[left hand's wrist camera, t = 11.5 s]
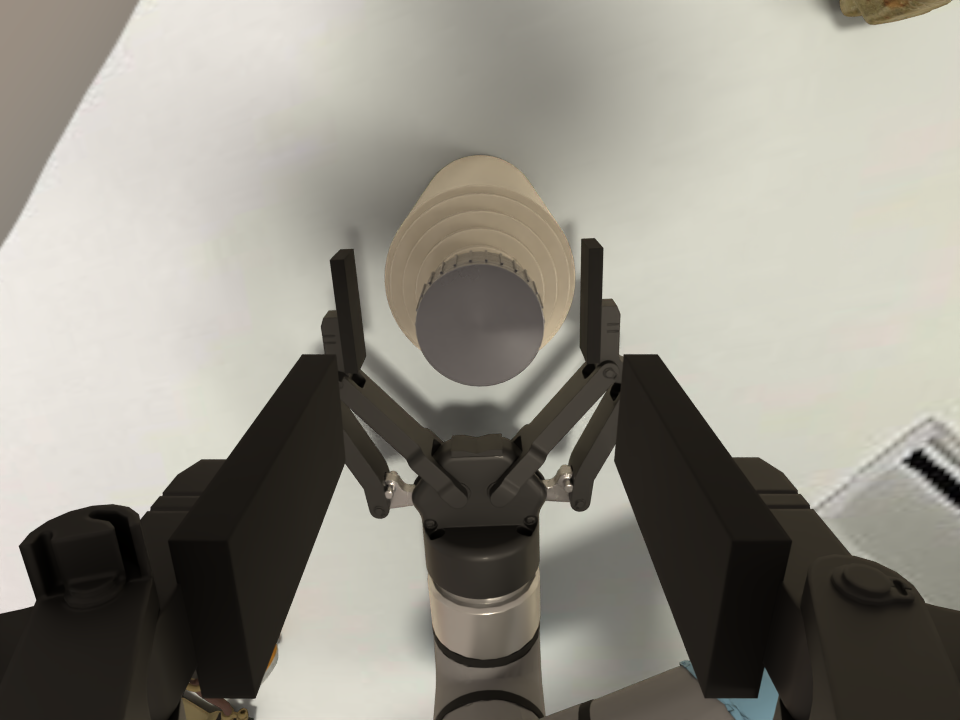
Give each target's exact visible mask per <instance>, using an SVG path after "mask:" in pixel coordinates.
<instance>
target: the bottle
mask: <svg viewBox="0 0 960 720" xmlns="http://www.w3.org/2000/svg"><path fill="white" fill-rule="evenodd" d="M471 250H472V252H479V251H482V252H485V250H487V252H491V253H496V254H500V253H501V254H502V256H505V257H507V258H508V259H510V260H512V261H513V260H515V261H516V263H517V264H518V265H519V266H520V267H521V268H522V269H523V270H525V269H526V270H527V273H528V275H529V277H530V278H531V280H532V281H534V282H535V284H536V287H537V290H538V294H540V297H541V300H542V304H543V307H544V308H543V309H542V310H543V315H544V319H545V323H544V336H543V340H542V344H541V346H540V349H541V348H543V347H544V346H545V345H546V344H547V343H548V342H549V341H550V340H551V339H552V338H553V337H554V335H555V334H556V333H557V331H558V330H559V329H560V327H561V325H562V324H563V322H564V320H565V319H566V316H567V314H568V312H569V309H570V306H571V303H572V299H573V295H574V288H575V267H574V260H573V256H572V252H571V248H570V246H569V244H568V241H567V239H566V236H565V235H564V233H563V231H562V230H561V228H560V226H559V225H558V223H557V222H556V220H555V219H554V217H553V216H552V214H551V213H550V211H549V210H548V208H547V207H546V205H545V204H544V203H543V201H542V200H541V198H540V197H539V195H538V194H537V192H536V191H535V189H534V188H533V186H532V185H531V183H530V182H529V180H528V179H527V178H526V177H525V175H524V174H523V173H522V172H521V171H520V170H519V169H517V168H516V167H515V166H513V165H512V164H510V163H508V162H507V161H505V160H502V159H500V158H497V157H492V156H486V155H473V156H468V157H463V158H461V159H458V160H455V161H453V162H451V163H450V164H448V165H447V166H445V167H444V168H443V169H441V170H440V171H439V172H438V173H437V174H436V175H435V177H434V178H433V179H432V180H431V182H430V183H429V185H428V186H427V188H426V189H425V191H424V192H423V194H422V195H421V197H420V198H419V200H418V201H417V203H416V204H415V206H414V207H413V209H412V210H411V212H410V213H409V214H408V216H407V217H406V219H405V220H404V222H403V223H402V225H401V227H400V228H399V230H398V231H397V233H396V235H395V237H394V239H393V241H392V243H391V246H390V249H389V252H388V255H387V260H386V266H385V288H386V295H387V299H388V303H389V306H390V309H391V312H392V314H393V317H394V318H395V320H396V322H397V324H398V326H399V327H400V329H401V330H402V331H403V333H404V334H405V335H406V337H407V338H408V339H409V340H410V341H411V342H412V343H413V344H414V345H415V346H416V347H417V348H419V349H420V346H419V344H418V340H417V336H416V327H415V322H416V315H417V311H416V307H417V304H418V301H419V298H420V295H421V292H422V289H423V286H424V284H427V282H428V280H429V278H430V276H431V273H432V271H433V272H435V271H436V270H437V268H439V267H440V266H441V264H442V262H443V261H444V262H446V261H448V260H449V259H451V258H453V257H455V255H456V254H457V255H461V254H464V253H469V252H470V251H471ZM540 349H539V350H540ZM420 350H421V349H420Z"/></svg>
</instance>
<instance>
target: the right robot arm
mask: <svg viewBox="0 0 960 720" xmlns="http://www.w3.org/2000/svg"><path fill="white" fill-rule="evenodd" d="M330 265H331V273H332V280H333V288H334V295H335V303H336V310H332V311H328V312H327V314H326V315H325V316H324V318H323V321H322V325H321V331H322V336H323V337H322V338H323V343H324V344H323V345H324V352H325V354H336V357H337V368H338V379H339V391H340V402H341V413H342V424H343V435H344V447H345V458H346V462H345V464H346V465H347V467H348V468H349V469H350V471H351V472H352V474H353V475H354V476H355V478H356V479H357V480H358V482H359V483H360V485H361V486H362V487H363V489H364V491H365V495H366V499H367V503H368V507H369V510H370V513H371V515H372V516H373V517H375V518H378V519H382V518H385V517H386V516H387V515H388V513H389V510H390V508H398V507H405V506H413V505H414V506H415V508H416V509H417V510H418V512H419V513H420V515H421V518H422V524H423V534H424V545H425V556H426V566H427V570H428V589H429V598H430V607H431V616H432V627H433V634H434V645H435V662H436V693H435V706H434V719H433V720H773V717H774V713H775V708H776V704H777V700H778V696H779V694H778V692H777V690H776V688H775V686H774V684H773V682H772V681H771V679H770V677H769V675H768V673H767V671H766V669H765V668H764V672H763V677H762V681H761V686H760V690H759V695H758V698H704V696H703V693H702V690H701V688H700V685H699V682H698V680H697V677H696V675H695V672H694V669H693V667H692V664H691V661H686V660H685V661H682V662H680V666H678V667H676V668H673V669H671V670H668V671H666V672H663V673H661V674H658V675H656V676H653V677H651V678H648V679H646V680H643V681H641V682H638V683H636V684H633V685H631V686H628V687H626V688H623V689H621V690H618V691H616V692H613V693H610V694H608V695H605V696H603V697H600V698H598V699H595V700H590V701H587V702H585V703H581V704H578V705H576V706H573V707H570V708H568V709H565V710H562V711H559V712H557V713H554V714H551V715H549V716H546V715H545V706H544V697H543V688H542V676H541V654H540V633H539V629H540V617H541V613H540V570H539V567H538V566H539V561H540V554H539V512H540V509H541V507H542V505H543V504H544V502H545V501H559V502H570V504H571V507H572V509H574V510H575V511H578V512H581V511H585V510H586V509H587V508H588V507H589V505H590V501H591V495H592V488H593V482H594V479H595V478H596V476H597V474H598V473H599V471H600V469H601V468H602V466H603V464H604V463H605V461H606V459H607V458H608V456H609V454H610V453H611V451H612V449H613V447H614V446H615V444H616V435H617V424H618V413H619V402H620V391H621V379H622V368H623V356H620V355H619V337H620V312H619V310H618V307H617V305H616V304H615V302H614V301H613V299H602V280H603V247H602V246H601V245H600V244H599V243H598V241H597V240H596V239H595V238H588V239H581V296H580V349H581V351H582V354H583V356H584V358H585V361H586V362H585V363H584V364H583V365H582V366H581V367H580V368H579V369H578V371H577V372H576V373H575V374H574V375H573V376H572V377H571V378H570V379H569V381H568V382H567V383H566V384H565V385H564V386H563V387H562V388H561V389H560V391H559V392H558V393H557V394H556V395H555V396H554V397H553V398H552V399H551V401H550V402H549V403H548V404H547V405H546V406H545V407H544V408H543V410H542V411H541V412H540V413H539V414H538V415H537V416H536V417H535V418H534V420H533V421H532V422H531V423H530V424H526V425H525V426H524V427H523V428H522V429H521V430H520V431H519V432H518V433H517V434H516V435H515V436H514V438H513V439H512V440H509V439H507V438H504V437H502V434H488V435H484V436H481V437H472V436H467V435H453V436H452V439H450V440H448V441H446V442H443V441H442V440H440V439H439V438H438V437H437V436H436V435H435V434H434V433H433V432H432V431H431V430H429V429H428V428H423V427H422V426H421V425H420V424H419V423H418V422H417V421H415V420H414V419H413V418H412V417H411V416H410V415H409V414H408V413H407V412H406V411H405V410H404V409H403V408H401V407H400V406H399V405H398V404H397V403H396V402H395V401H394V400H393V399H392V398H391V397H390V396H389V395H387V394H386V393H385V392H384V391H383V390H382V389H381V388H380V387H379V386H378V385H377V384H376V383H375V382H373V381H372V380H371V379H370V378H369V377H368V376H367V375H366V374H365V373H364V372H363V371H362V370H361V369H360V368H361V366H362V364H363V362H364V360H365V357H366V350H365V342H364V333H363V325H362V316H361V308H360V299H359V291H358V283H357V274H356V266H355V257H354V249H340V250H339V251H338V252H337V253H336V254H335V255H334V256H333V257H332V258H331V259H330ZM605 392H606V393H605ZM604 393H605V394H604ZM603 394H604V396H603V398H602V400H601V401H600V403H599V405H598V407H597V409H596V410H595V412H594V414H593V416H592V417H591V419H590V421H589V423H588V424H587V426H586V428H585V430H584V431H583V433H582V435H581V437H580V438H579V440H578V442H577V444H576V445H575V447H574V449H573V451H572V453H571V456H570V459H569V463H568V465H562V466H561V467H560V469H559V470H558V471H557V473H556V475H555V476H554V477H553V478H552V479H548V480H545V479H544V477H543V475H542V474H541V473H540V471H539V470H538V469H539V468H540V467H541V466H542V465H543V463H544V462H545V460H546V457H547V455H548V453H549V452H550V451H551V450H552V449H553V448H554V447H555V445H556V444H557V443H558V442H559V441H560V440H561V439H562V438H563V437H564V436H565V435H566V434H567V433H568V432H569V430H570V429H571V428H572V427H573V426H574V425H575V424H576V423H577V422H578V421H579V420H580V419H581V418H582V416H583V415H584V414H585V413H586V412H587V411H588V410H589V409H590V408H591V407H592V406H593V405H594V404H595V402H596V401H597V400H598V399H599V398H600V397H601V396H602V395H603ZM349 408H350V409H351V410H352V411H353V412H354V413H355V414H357V415H358V416H359V417H360V418H361V419H362V420H363V421H364V422H365V423H367V424H368V425H369V426H370V427H371V428H372V429H373V430H374V431H375V432H377V433H378V434H379V435H380V436H381V437H382V438H383V439H384V440H385V441H387V442H388V443H389V444H390V445H391V446H392V447H393V448H394V449H395V450H397V451H398V452H399V453H400V454H401V455H402V456H403V457H404V458H405V459H406V460H407V462H408V465H409V466H410V468H411V469H412V470H413V471H414V472H415V473H416V474H418V475H419V476H418V477H417V478H416V480H415V482H414V484H406V483H404V482H403V481H402V479H401V478H400V476H399V475H398V473H397V472H396V471H391V472H390V471H389V468H388V465H387V463H386V461H385V459H384V457H383V456H382V454H381V453H380V451H379V450H378V449H377V447H376V446H375V444H374V443H373V441H372V440H371V439H370V437H369V436H368V434H367V433H366V431H365V430H364V429H363V427H362V426H361V424H360V423H359V421H358V420H357V419H356V417H355V416H354V414H353V413H352V411H351V410H350V409H349Z"/></svg>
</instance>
